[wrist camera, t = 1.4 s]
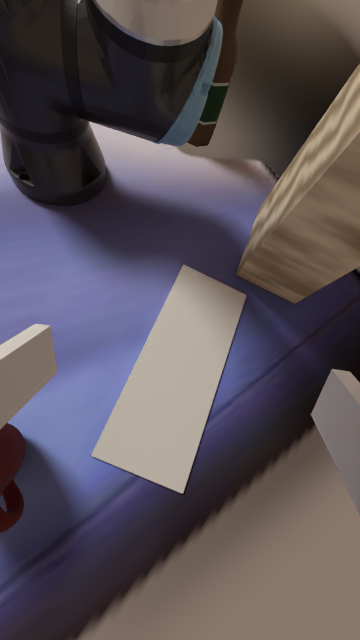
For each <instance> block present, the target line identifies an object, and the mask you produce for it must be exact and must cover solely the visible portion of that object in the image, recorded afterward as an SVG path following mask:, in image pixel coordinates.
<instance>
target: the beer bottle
mask: <svg viewBox="0 0 360 640" xmlns="http://www.w3.org/2000/svg"><path fill="white" fill-rule="evenodd" d="M242 2H243V0H218V2H217V6H216V9H215V14H214V15H215V17H216V18H217V20H218V21H220V23H221V25H222V28H223V37H222V45H221V50H220V55H219V59H218V64H217V67H216V71H215V75H214V78H213V81H212V83H211V86H210V89H209V91H208V96H207V100H206V103H205V106H204V109H203V112H202V114H201V117H200V119H199V122H198V124H197V126H196V128H195V131H194V132H193V134H192V136H191V138H190V139H189V140H188V141H187V142H188V143H190V144H192V145H194V146H197V147H198V146H206V145H208V144H209V142H210V139H211V137H212V135H213V132H214V129H215V127H216V124H217V120H218V118H219V114H220V111H221V108H222V105H223V102H224V99H225V96H226V93H227V90H228V87H229V84H230V81H231V78H232V75H233V71H234V68H235V64H236V58H237V39H236V28H237V24H238V18H239V13H240V10H241V6H242Z"/></svg>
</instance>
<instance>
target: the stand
mask: <svg viewBox="0 0 360 640" xmlns="http://www.w3.org/2000/svg"><path fill="white" fill-rule="evenodd" d="M359 266H360V64H359V65H358V67H357V68H356V70H355V71H354V73H353V74H352V76H351V77H350V78H349V80H348V81H347V83H346V84H345V86H344V87H343V88H342V90H341V92H340V93H339V94H338V96H337V97H336V99H335V100H334V101H333V103H332V104H331V106H330V107H329V109H328V110H327V112H326V113H325V115H324V116H323V118H322V119H321V120H320V122H319V123H318V124H317V126H316V127H315V129H314V130H313V132H312V133H311V135H310V136H309V137H308V139H307V140H306V142H305V143H304V145H303V146H302V148H301V149H300V150H299V152H298V153H297V155H296V156H295V158H294V159H293V161H292V162H291V163H290V165H289V166H288V168H287V169H286V171H285V172H284V174H283V175H282V177H281V178H280V179H279V181H278V182H277V184H276V185H275V186H274V188H273V189H272V191H271V192H270V194H269V195H268V197H267V198H266V199H265V201H264V202H263V204H262V205H261V207H260V208H259V211H258V214H257V217H256V219H255V222H254V225H253V228H252V230H251V233H250V236H249V239H248V242H247V244H246V247H245V250H244V253H243V256H242V258H241V261H240V264H239V267H238V270H237V272H236V275H237V276H239V277H241V278H243V279H245V280H247V281H249V282H251V283H253V284H255V285H257V286H259V287H261V288H263V289H265V290H267V291H269V292H271V293H274V294H276V295H278V296H280V297H282V298H284V299H286V300H288V301H290V302H292V303H294V304H295V303H297V302H299V301H300V300H302V299H304V298H306V297H307V296H309V295H311V294H312V293H314V292H316V291H318V290H319V289H321V288H323V287H325V286H326V285H328V284H330V283H331V282H333V281H335V280H337V279H338V278H340V277H342V276H343V275H345V274H347V273H349V272H350V271H352V270H354V269H356V268H357V267H359Z"/></svg>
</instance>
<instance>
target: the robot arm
mask: <svg viewBox="0 0 360 640" xmlns="http://www.w3.org/2000/svg"><path fill="white" fill-rule="evenodd" d="M216 3H217V0H0V132H1V140H2V149H3V157H4V162H5V165H6V168H7V170H8V172H9V174H10V176H11V178H12V180H13V182H14V183H15V184H16V186H17V187H18V188H19V189H20V190H21V191H22V192H24V193H25V194H26V195H28V196H30V197H32V198H34V199H36V200H38V201H41V202H44V203H49V204H55V205H72V204H77V203H81V202H84V201H87V200H89V199H91V198H92V197H94V196H95V195H96V194H98V193H99V192H100V190H101V189H102V187H103V186H104V183H105V180H106V170H105V161H104V157H103V154H102V152H101V150H100V147H99V145H98V143H97V140H96V138H95V136H94V133H93V131H92V128H91V126H90V124H89V121H90V122H93V123H96V124H100V125H103V126H106V127H109V128H112V129H115V130H118V131H121V132H124V133H127V134H131V135H134V136H137V137H140V138H143V139H146V140H149V141H152V142H154V143H157V144H160V143H163V144H167V145H172V146H182V145H184V144H185V143H186V142H187V141H188V140H189V139H190V138H191V136H192V134H193V132H194V131H195V128H196V126H197V124H198V122H199V119H200V117H201V114H202V112H203V109H204V106H205V103H206V100H207V96H208V91H209V89H210V86H211V83H212V81H213V78H214V75H215V71H216V67H217V64H218V59H219V55H220V50H221V45H222V37H223V28H222V25H221V23H220V21H218V20H217V18H216V17H215V15H214V14H215V9H216ZM56 373H57V366H56V359H55V353H54V346H53V340H52V333H51V327H50V326H48V325H41V324H34V325H32V326H31V327H29V328H28V329H26V330H24V331H23V332H21V333H19V334H18V335H16V336H14V337H13V338H11V339H9V340H8V341H6V342H5V343H3V344H1V345H0V429H1V428H2V427H3V426H4V425H5V424H6V423H7V422H8V421H9V420H10V419H11V418H12V417H13V416H14V415H15V414H16V413H17V412H18V411H19V410H20V409H21V408H22V407H23V406H24V405H25V404H26V403H27V402H28V401H29V400H30V399H31V398H32V397H33V396H34V395H35V394H36V393H37V392H38V391H39V390H40V389H41V388H42V387H43V386H44V385H45V384H46V383H47V382H48V381H49V380H50V379H51V378H52V377H53V376H54V375H55V374H56ZM311 416H312V418H313V420H314V422H315V424H316V426H317V428H318V430H319V432H320V434H321V436H322V438H323V440H324V442H325V445H326V446H327V449H328V451H329V453H330V455H331V457H332V459H333V461H334V463H335V465H336V467H337V469H338V471H339V473H340V475H341V477H342V479H343V481H344V483H345V485H346V487H347V489H348V491H349V493H350V495H351V498H352V500H353V502H354V504H355V506H356V507H357V510H358V512H359V514H360V383H359V381H358V380H357V379H356V378H355V377H354V376H353V375H352V373H351V372H349V371H342V370H335V369H332V370H331V372H330V374H329V376H328V378H327V381H326V383H325V385H324V387H323V389H322V392H321V394H320V396H319V398H318V400H317V402H316V405H315V407H314V409H313V411H312V413H311Z"/></svg>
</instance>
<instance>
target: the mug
mask: <svg viewBox="0 0 360 640" xmlns="http://www.w3.org/2000/svg"><path fill="white" fill-rule="evenodd" d="M24 455H25V441H24V438H23V436H22V434H21V433H20V431H19V430H18V429H17V428H15V427H14V426H12V425H11V424H8V423H6V424H5V425H4V426H3V427H2V428H1V429H0V495H1V494H3V497H4V499H5V503H6V508H7V512H5V511H4V510H3V509H2V508H1V507H0V532H3V531H6V530H7V529H9V528H10V527H12V526H13V525H14V524H15V523H16V522H17V521H18V520H19V518H20V517H21V515H22V512H23V508H24V501H23V497H22V494H21V492H20V490H19V488H18V487H17V485H16V484H15V482H14V480H13V478H14V476H15V475H16V473H17V472H18V470H19V468H20V466H21V464H22V462H23V459H24Z"/></svg>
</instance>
